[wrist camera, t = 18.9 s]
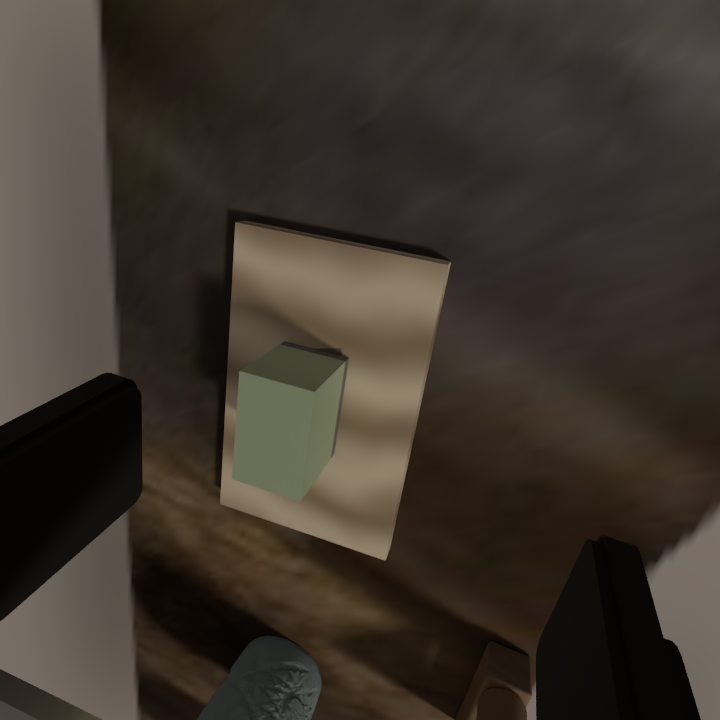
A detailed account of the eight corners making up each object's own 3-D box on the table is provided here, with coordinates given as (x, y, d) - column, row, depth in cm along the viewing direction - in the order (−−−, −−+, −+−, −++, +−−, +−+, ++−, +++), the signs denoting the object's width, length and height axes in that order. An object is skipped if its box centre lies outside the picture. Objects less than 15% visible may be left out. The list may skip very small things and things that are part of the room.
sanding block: (284, 341, 37) (239, 371, 31) (349, 357, 36) (314, 391, 30) (275, 435, 40) (231, 479, 34) (334, 453, 39) (300, 501, 33)
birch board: (246, 220, 37) (235, 222, 35) (451, 261, 33) (447, 264, 32) (229, 494, 45) (220, 503, 44) (389, 548, 42) (385, 560, 41)
